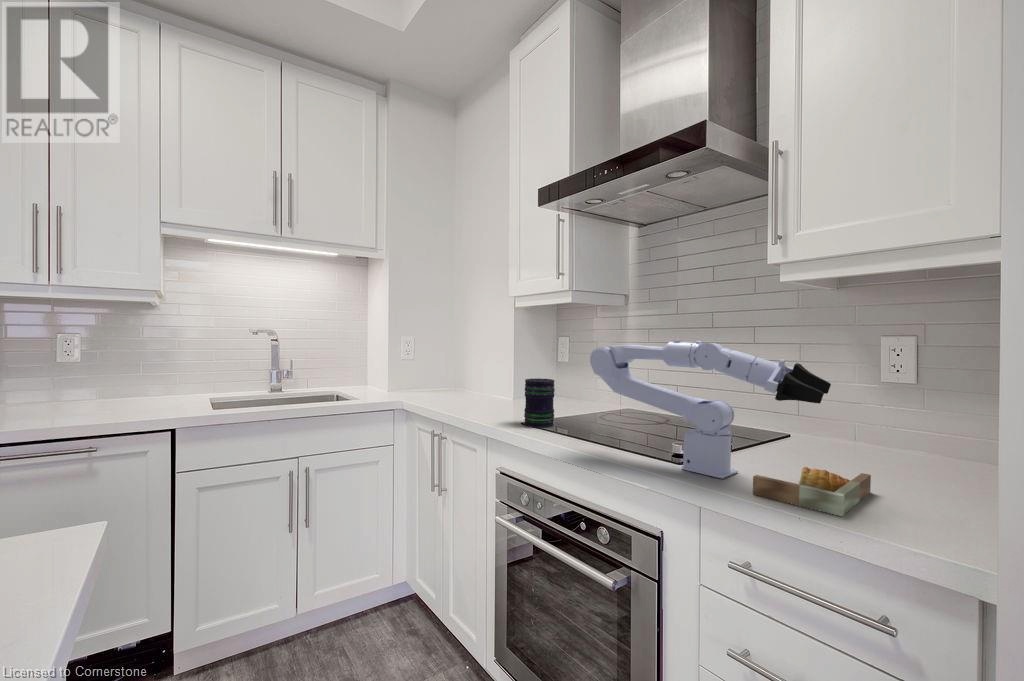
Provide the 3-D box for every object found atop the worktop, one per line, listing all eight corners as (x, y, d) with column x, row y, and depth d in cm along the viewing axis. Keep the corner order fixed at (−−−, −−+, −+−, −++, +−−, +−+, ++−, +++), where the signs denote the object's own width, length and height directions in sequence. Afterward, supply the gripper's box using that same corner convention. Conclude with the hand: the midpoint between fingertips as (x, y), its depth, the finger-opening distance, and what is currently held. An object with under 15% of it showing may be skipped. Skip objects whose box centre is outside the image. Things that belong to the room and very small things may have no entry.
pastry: (856, 490, 96) (856, 471, 96) (854, 499, 91) (855, 479, 91) (801, 480, 102) (802, 463, 102) (797, 489, 97) (798, 470, 96)
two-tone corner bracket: (752, 494, 92) (753, 476, 92) (789, 475, 105) (789, 459, 105) (841, 516, 81) (841, 496, 81) (870, 492, 94) (870, 474, 94)
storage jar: (532, 429, 151) (532, 381, 151) (519, 423, 160) (519, 378, 160) (559, 427, 155) (560, 381, 155) (545, 421, 164) (546, 378, 164)
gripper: (747, 358, 95) (825, 383, 87) (767, 346, 105) (838, 366, 97) (738, 391, 97) (813, 417, 89) (758, 375, 108) (827, 398, 100)
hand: (825, 393), depth 93 cm, fingers open, 7 cm apart
